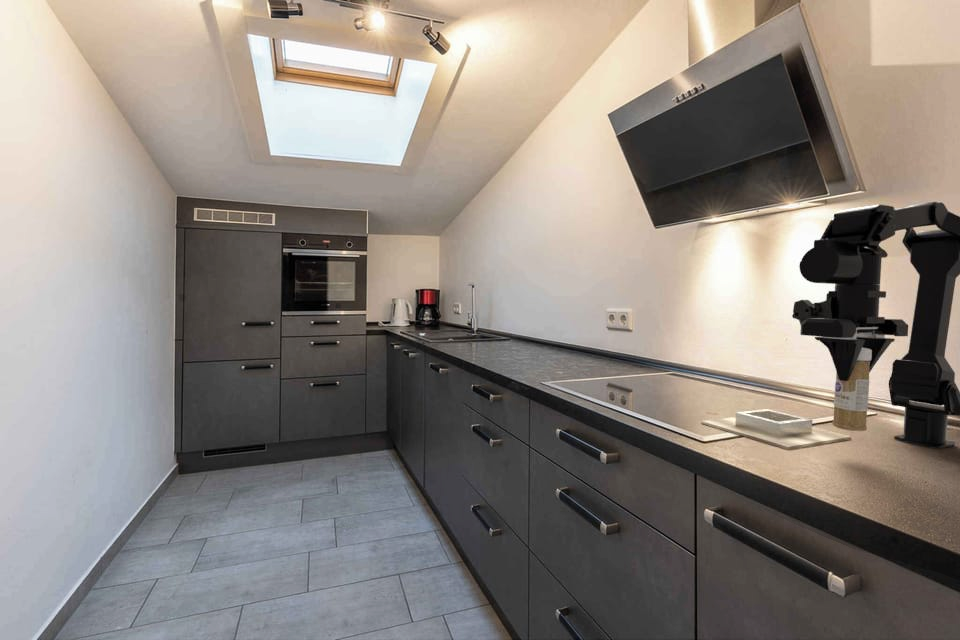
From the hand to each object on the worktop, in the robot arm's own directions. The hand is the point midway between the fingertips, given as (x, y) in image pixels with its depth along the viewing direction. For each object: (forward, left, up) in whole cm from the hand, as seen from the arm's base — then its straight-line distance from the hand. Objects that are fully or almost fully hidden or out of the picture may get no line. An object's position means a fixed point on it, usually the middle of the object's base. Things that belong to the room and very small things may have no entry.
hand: (852, 379), depth 76 cm
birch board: (-3, -15, -13) cm, 20 cm away
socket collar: (-3, -15, -13) cm, 20 cm away
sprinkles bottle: (0, 0, -8) cm, 8 cm away
